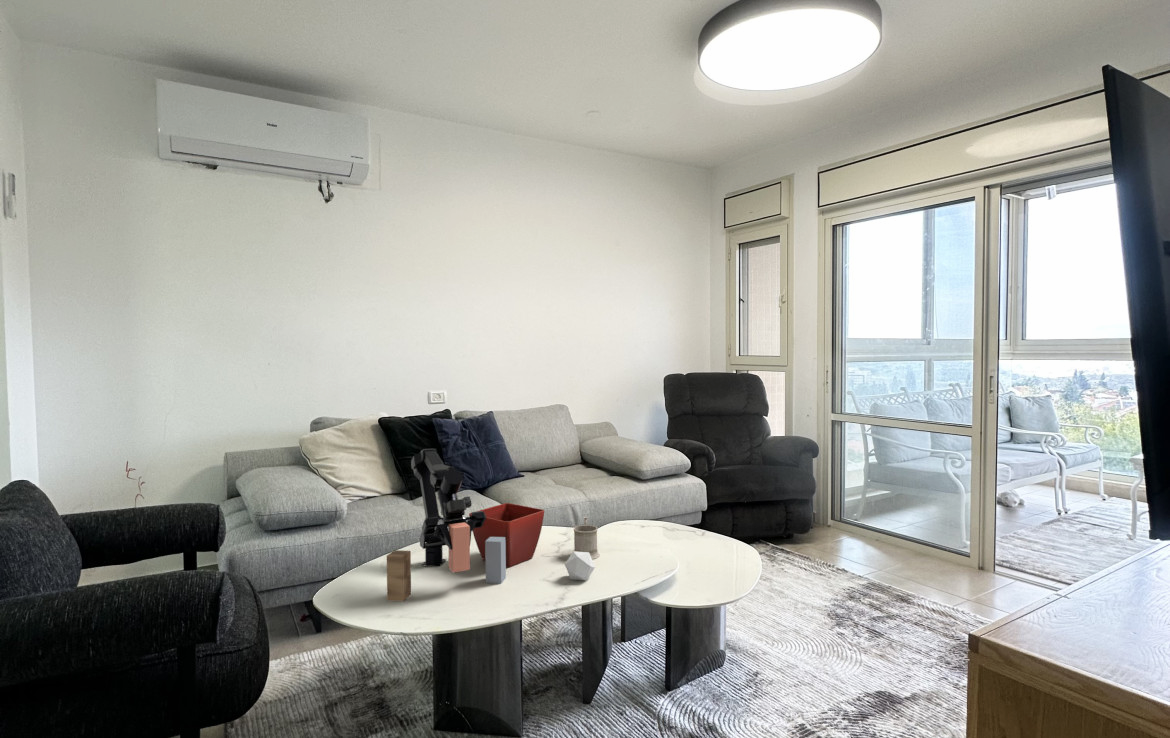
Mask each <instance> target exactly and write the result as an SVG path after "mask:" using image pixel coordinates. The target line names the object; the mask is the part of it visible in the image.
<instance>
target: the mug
mask: <svg viewBox="0 0 1170 738" xmlns="http://www.w3.org/2000/svg"><path fill="white" fill-rule="evenodd" d="M582 518H584V524H582V525H576V526H574V527H573V532H574V533H573V536H574V537H573V539H574V544H573V545H574V546H573V548H574V550H573V551H576V552H589V553H590V556H591V558H592V561H593V560H597V559H598V558H600V557H601V554H600V553H599V550H598V527H597V526H595V525H588V518H589V516H583V517H582Z"/></svg>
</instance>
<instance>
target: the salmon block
mask: <svg viewBox="0 0 1170 738" xmlns="http://www.w3.org/2000/svg"><path fill="white" fill-rule="evenodd" d="M448 531H449V536H450V539H451V542H452V547H453V548H452V550H450V548H449V547H448V569H449V570H451V572H452V573H458V572H464V571H470V568H471V565H470V564H471V560H470V559H471V553H470V552H471V549H470V547H471V542H470V526H469V525H468V524H466V523H465V522H464V523H456V524H449V527H448Z"/></svg>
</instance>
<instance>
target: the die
mask: <svg viewBox="0 0 1170 738" xmlns="http://www.w3.org/2000/svg"><path fill="white" fill-rule="evenodd" d="M564 567H565V568H566V570H567V571H566V572H567V574H568V577H569V578H570V580H574V581H584V582H587V581H588V580H589V578H590V577H591V575H592V573H593V572H594V570H595V568H596V566H595V564H594V561H593V560H592V558H591V556H590V553H589V552H576V551H574V550H573V551H572V552H571V554H570V556H569V557H568V558H567V560H566V562H565V563H564Z"/></svg>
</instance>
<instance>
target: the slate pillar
mask: <svg viewBox="0 0 1170 738" xmlns="http://www.w3.org/2000/svg"><path fill="white" fill-rule="evenodd" d="M485 560H486V561H485V584H497V585H498V584H499V585H501V584H503V582H504V581H505V580H506V578H507V569H506V568H507V567H506V544H505V537H489V538H488V539H487V540H486V541H485Z"/></svg>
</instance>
